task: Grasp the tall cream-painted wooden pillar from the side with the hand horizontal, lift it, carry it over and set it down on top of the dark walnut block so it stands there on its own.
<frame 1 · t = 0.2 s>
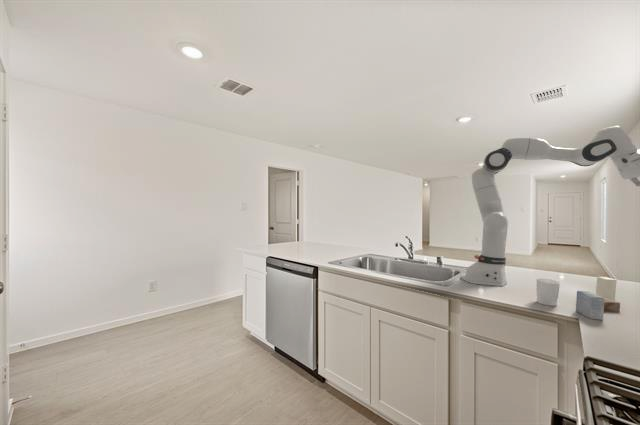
white cup: (546, 303, 120), on the worktop
medicine box: (588, 316, 108), on the worktop
cream pillar: (605, 299, 127), on the worktop
walnut block: (597, 307, 117), on the worktop
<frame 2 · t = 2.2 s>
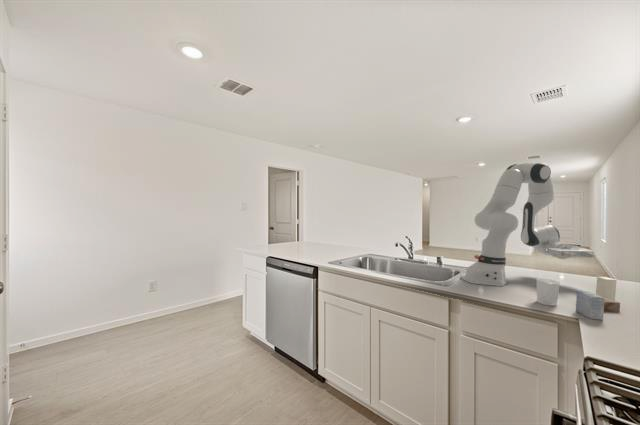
hand: (583, 255, 138), 18 cm above the worktop, tool horizontal, fingers open, 8 cm apart
nothing on the worktop moved.
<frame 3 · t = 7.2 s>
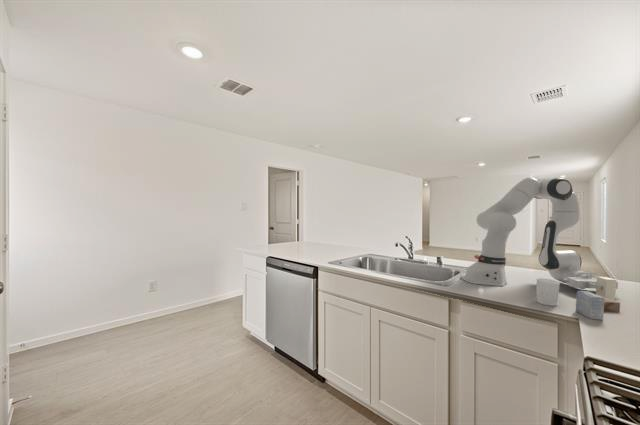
hand: (607, 288, 126), 6 cm above the worktop, tool horizontal, fingers closed on cream pillar, 4 cm apart
cream pillar: (605, 299, 127), on the worktop, touching gripper
everything else where it was.
when the fingers open (10 cm above the worktop, at t = 13.3 s): cream pillar drops 1 cm, point 4 cm above the worktop.
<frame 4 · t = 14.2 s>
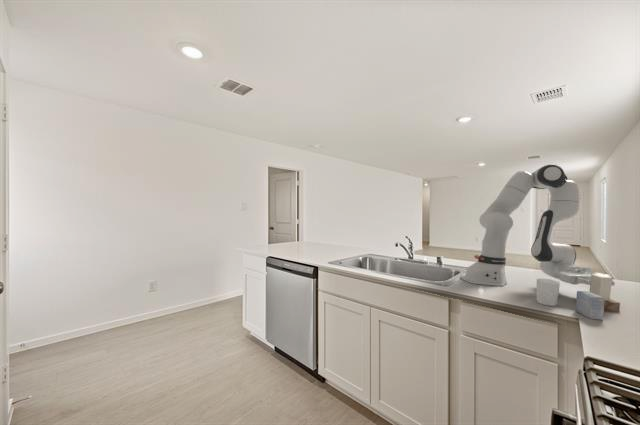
hand: (601, 283, 116), 10 cm above the worktop, tool horizontal, fingers open, 8 cm apart
cream pillar: (599, 298, 117), point 4 cm above the worktop
everything else where it was.
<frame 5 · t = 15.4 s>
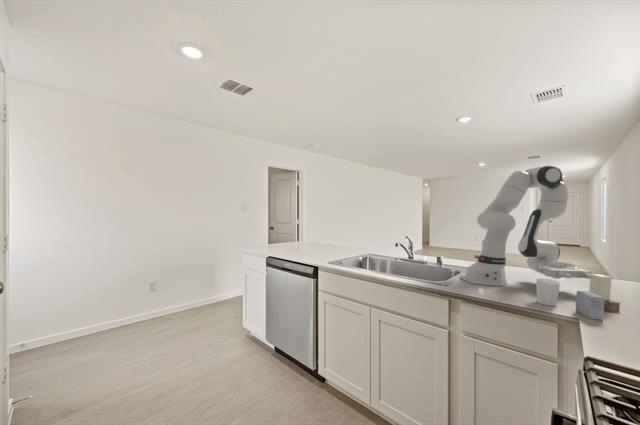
hand: (580, 276, 125), 10 cm above the worktop, tool horizontal, fingers open, 8 cm apart
cream pillar: (599, 298, 117), point 4 cm above the worktop, touching walnut block
walnut block: (597, 307, 117), on the worktop, touching cream pillar
everything else where it was.
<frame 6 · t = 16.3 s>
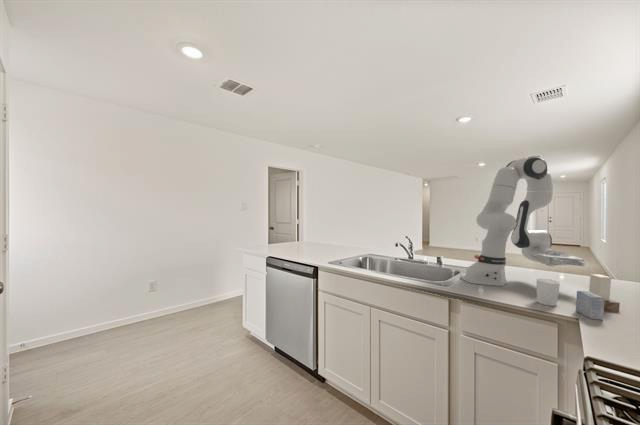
hand: (572, 263, 129), 16 cm above the worktop, tool horizontal, fingers open, 8 cm apart
nothing on the worktop moved.
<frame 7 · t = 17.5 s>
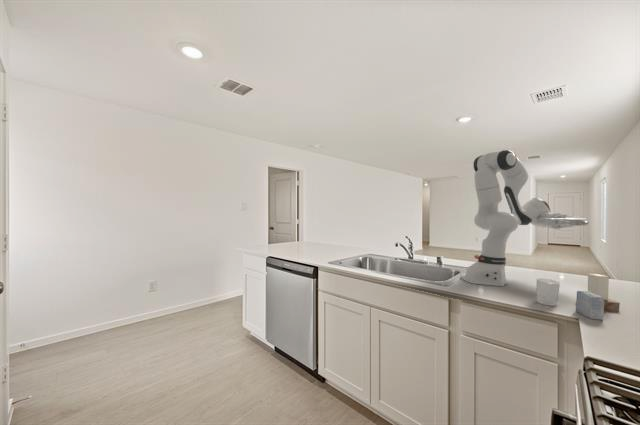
hand: (577, 223, 137), 35 cm above the worktop, tool horizontal, fingers open, 8 cm apart
nothing on the worktop moved.
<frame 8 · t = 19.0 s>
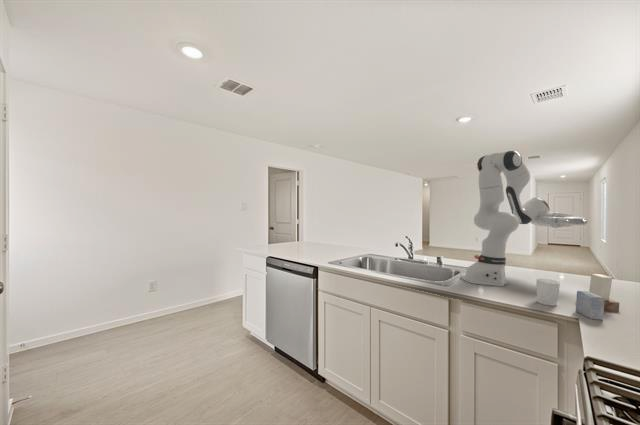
hand: (576, 221, 140), 35 cm above the worktop, tool horizontal, fingers open, 8 cm apart
cream pillar: (598, 298, 117), point 4 cm above the worktop
walnut block: (596, 307, 117), on the worktop
everything else where it was.
at the end: cream pillar inside the target area on the walnut block (0.4 cm from its centre), point 4.1 cm above the walnut block's base; cream pillar tilted 1°; the gripper is holding nothing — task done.
